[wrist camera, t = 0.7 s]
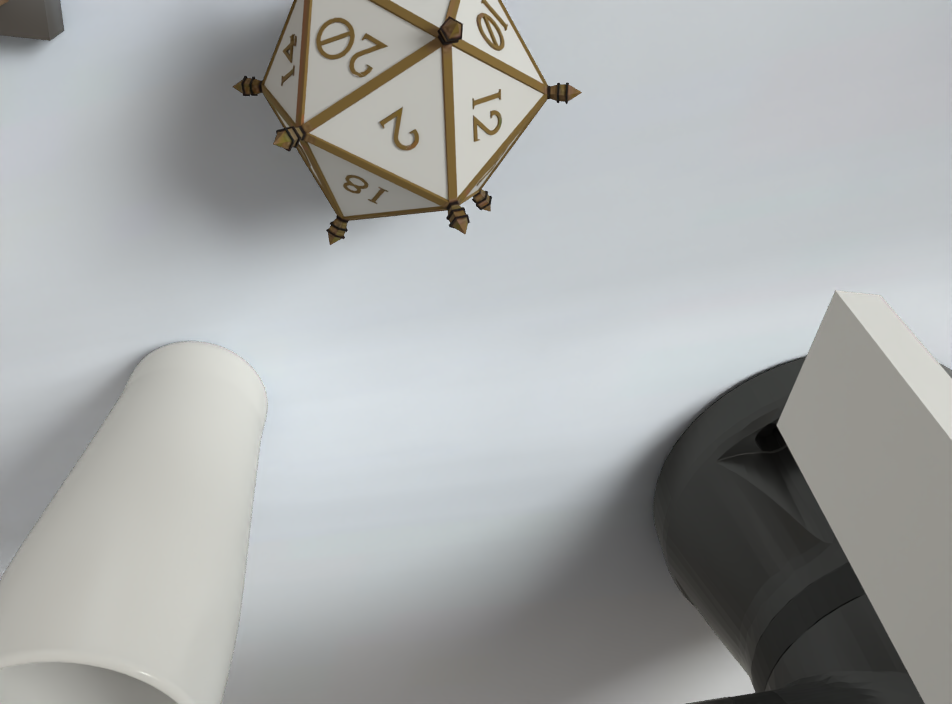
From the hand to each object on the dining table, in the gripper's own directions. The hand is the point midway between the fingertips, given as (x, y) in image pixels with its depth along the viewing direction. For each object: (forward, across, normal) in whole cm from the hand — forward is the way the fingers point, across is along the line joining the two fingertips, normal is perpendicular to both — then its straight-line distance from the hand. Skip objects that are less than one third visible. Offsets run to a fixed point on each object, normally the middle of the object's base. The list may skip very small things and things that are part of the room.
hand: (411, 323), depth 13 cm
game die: (+17, 0, +1) cm, 17 cm away
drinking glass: (+17, +7, +15) cm, 24 cm away
